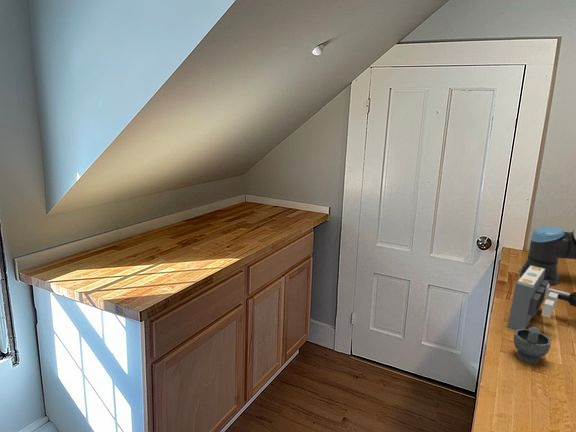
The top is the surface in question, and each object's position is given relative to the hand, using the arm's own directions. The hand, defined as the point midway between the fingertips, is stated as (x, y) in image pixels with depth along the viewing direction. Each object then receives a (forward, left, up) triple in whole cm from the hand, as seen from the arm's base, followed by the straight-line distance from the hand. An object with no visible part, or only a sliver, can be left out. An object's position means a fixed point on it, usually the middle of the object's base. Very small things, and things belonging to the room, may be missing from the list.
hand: (548, 292), depth 157 cm
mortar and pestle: (+37, +2, -9) cm, 38 cm away
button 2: (0, -1, -2) cm, 3 cm away
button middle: (+8, +2, -2) cm, 8 cm away
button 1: (+16, +2, -2) cm, 16 cm away
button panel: (+8, -5, -9) cm, 13 cm away
